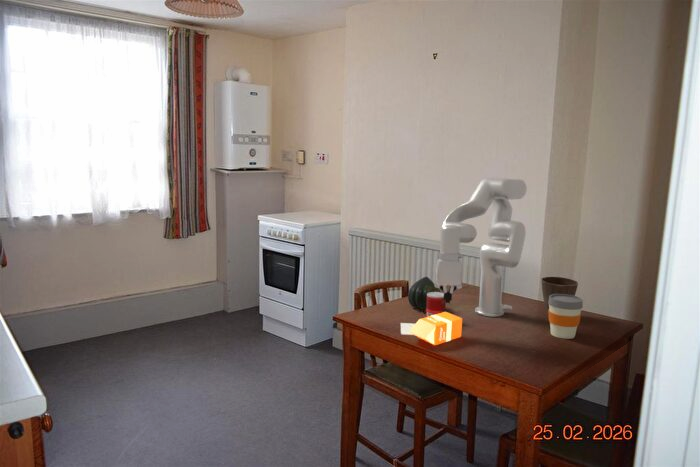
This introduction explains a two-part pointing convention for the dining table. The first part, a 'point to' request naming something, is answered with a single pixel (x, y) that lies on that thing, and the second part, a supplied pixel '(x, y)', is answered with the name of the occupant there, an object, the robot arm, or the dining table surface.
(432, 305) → the canned food
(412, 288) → the squash
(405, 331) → the mat
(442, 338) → the orange juice
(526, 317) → the dining table surface
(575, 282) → the plant pot
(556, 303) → the reusable coffee cup
